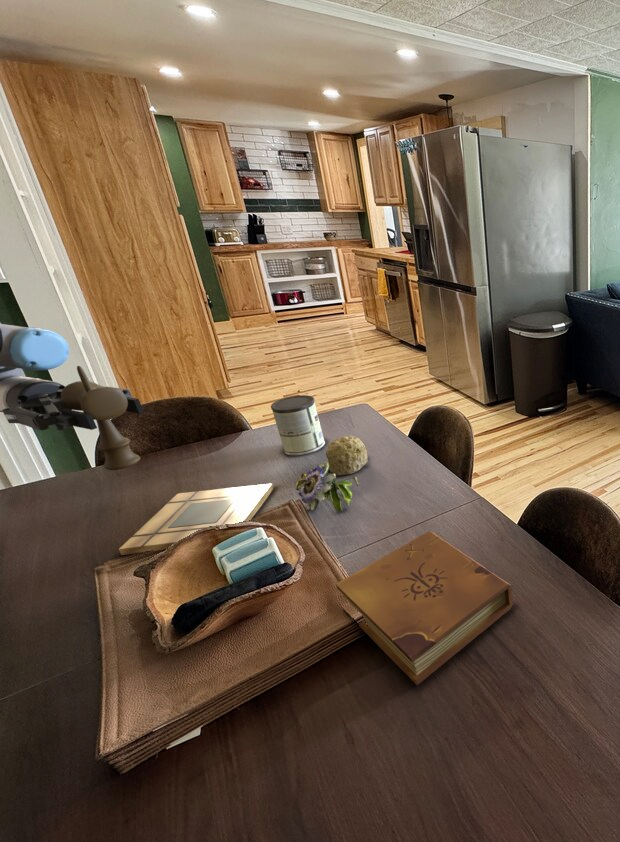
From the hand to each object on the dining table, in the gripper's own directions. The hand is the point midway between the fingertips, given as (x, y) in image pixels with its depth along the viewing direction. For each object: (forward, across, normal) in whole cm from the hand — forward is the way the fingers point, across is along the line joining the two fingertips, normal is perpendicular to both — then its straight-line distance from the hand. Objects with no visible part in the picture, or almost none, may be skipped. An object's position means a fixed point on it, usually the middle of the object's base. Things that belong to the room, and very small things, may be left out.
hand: (115, 413), depth 84 cm
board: (-5, -9, -30) cm, 32 cm away
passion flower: (+17, -23, -30) cm, 41 cm away
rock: (+8, -37, -31) cm, 49 cm away
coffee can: (-12, -42, -31) cm, 53 cm away
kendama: (-5, 0, -12) cm, 13 cm away
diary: (+58, -3, -30) cm, 65 cm away
